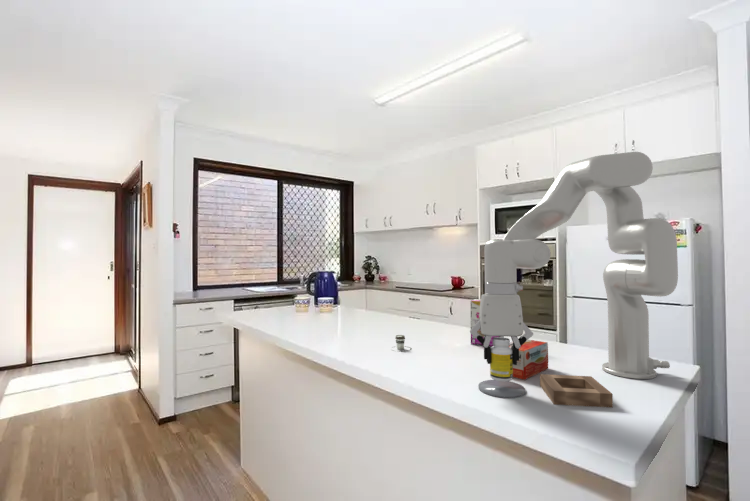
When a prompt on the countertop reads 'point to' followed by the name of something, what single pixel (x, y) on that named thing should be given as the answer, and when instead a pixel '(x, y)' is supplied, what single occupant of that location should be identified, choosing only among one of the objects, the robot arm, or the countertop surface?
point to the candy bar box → (475, 318)
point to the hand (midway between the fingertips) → (501, 362)
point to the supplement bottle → (501, 360)
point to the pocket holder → (575, 391)
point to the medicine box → (531, 359)
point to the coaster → (501, 388)
